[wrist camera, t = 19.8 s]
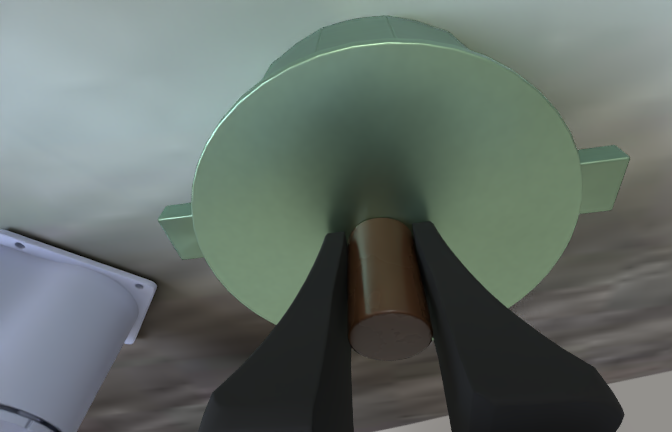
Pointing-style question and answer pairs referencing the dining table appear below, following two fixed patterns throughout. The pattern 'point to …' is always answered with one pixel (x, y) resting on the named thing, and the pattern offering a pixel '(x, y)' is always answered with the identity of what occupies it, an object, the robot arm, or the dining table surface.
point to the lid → (386, 182)
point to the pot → (596, 163)
